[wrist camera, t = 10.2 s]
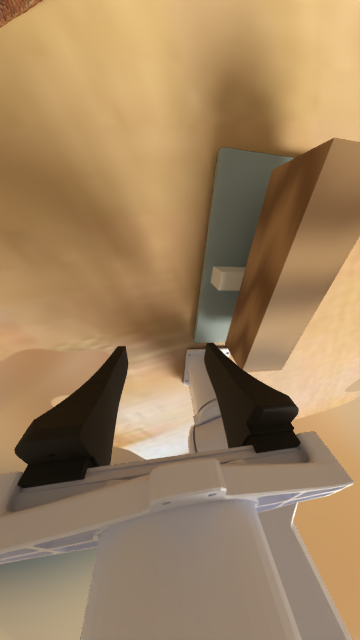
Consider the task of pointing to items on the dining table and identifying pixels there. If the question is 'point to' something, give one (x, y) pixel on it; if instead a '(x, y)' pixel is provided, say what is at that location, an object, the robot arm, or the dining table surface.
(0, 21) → the wooden tablet
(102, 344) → the dining table surface
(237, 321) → the walnut bar
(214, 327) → the ridge stand
